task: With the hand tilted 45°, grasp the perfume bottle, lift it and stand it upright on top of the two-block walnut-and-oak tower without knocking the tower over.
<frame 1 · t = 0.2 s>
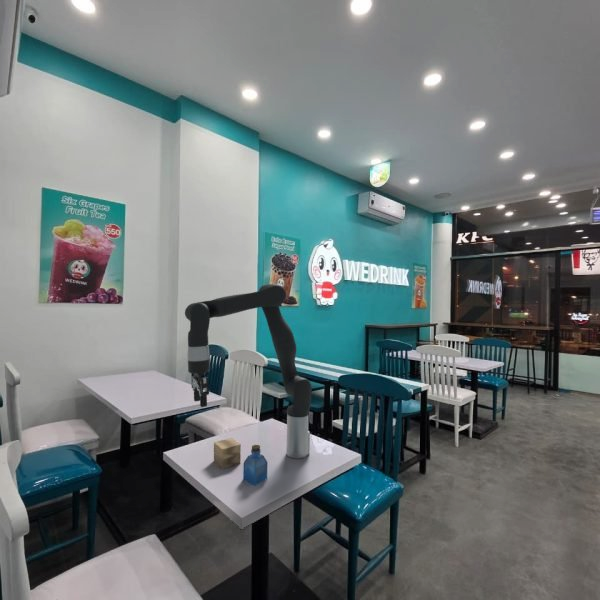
hand: (200, 403, 120), 29 cm above the table, tool pointing down, fingers open, 8 cm apart
tower top block: (227, 453, 137), point 4 cm above the table, touching tower bottom block
tower bottom block: (226, 463, 137), on the table, touching tower top block
perfume bottle: (255, 479, 124), on the table
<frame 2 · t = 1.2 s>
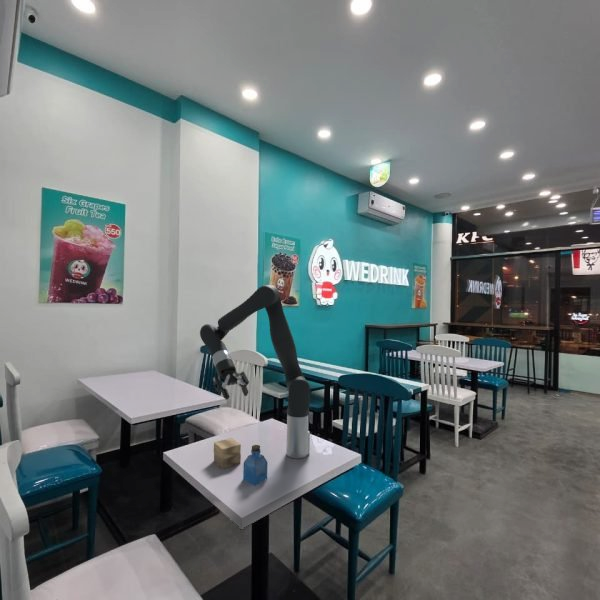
hand: (237, 396, 133), 28 cm above the table, tool tilted 45°, fingers open, 8 cm apart
nothing on the table moved.
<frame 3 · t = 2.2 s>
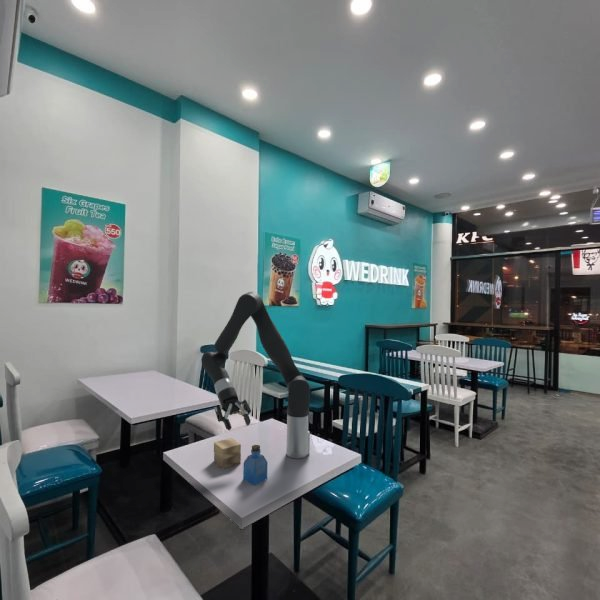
hand: (239, 426, 133), 16 cm above the table, tool tilted 45°, fingers open, 8 cm apart
nothing on the table moved.
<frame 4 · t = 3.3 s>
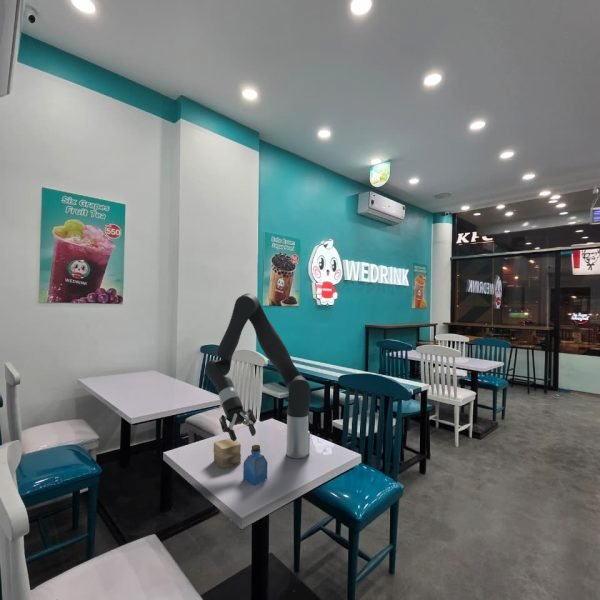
hand: (244, 437, 130), 13 cm above the table, tool tilted 45°, fingers open, 8 cm apart
nothing on the table moved.
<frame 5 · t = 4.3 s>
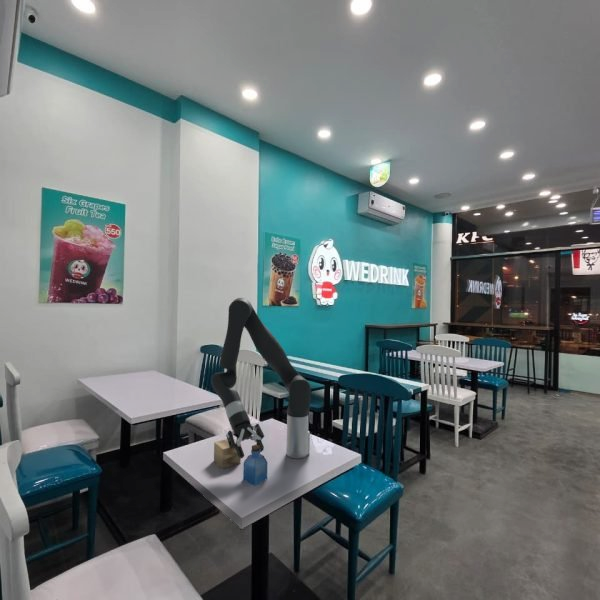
hand: (252, 454, 125), 9 cm above the table, tool tilted 45°, fingers open, 8 cm apart
nothing on the table moved.
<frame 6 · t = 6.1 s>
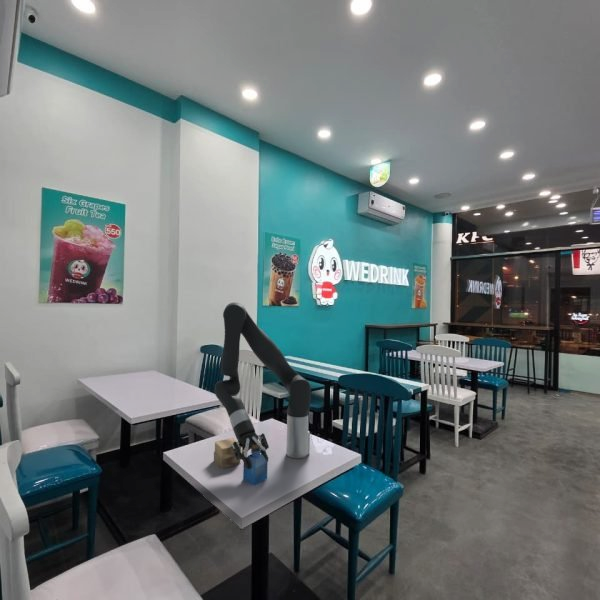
hand: (258, 465, 123), 6 cm above the table, tool tilted 45°, fingers closed on perfume bottle, 6 cm apart
perfume bottle: (255, 479, 124), on the table, touching gripper
everything else where it was.
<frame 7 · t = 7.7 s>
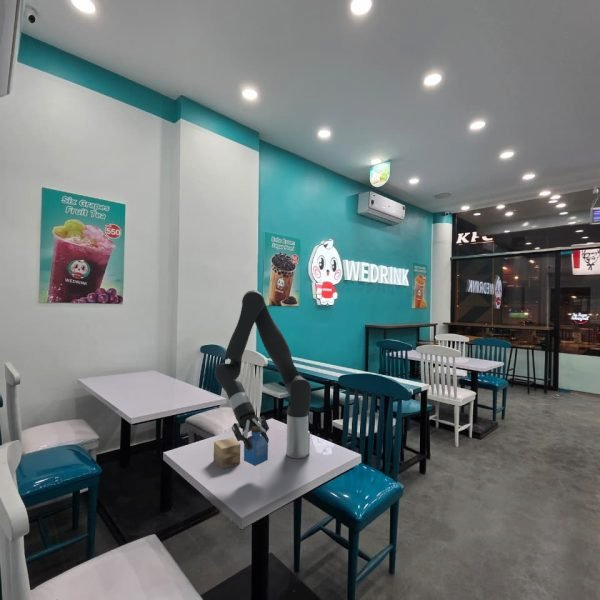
hand: (258, 446, 123), 13 cm above the table, tool tilted 45°, fingers closed on perfume bottle, 6 cm apart
perfume bottle: (255, 460, 124), point 7 cm above the table, touching gripper
everything else where it was.
when the fingers open (15 cm above the table, at t = 12.3 s): perfume bottle drops 2 cm, resting on tower top block.
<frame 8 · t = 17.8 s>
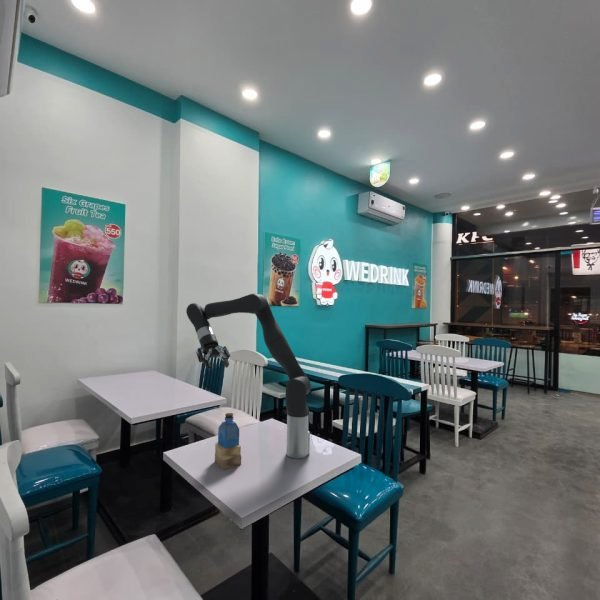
hand: (218, 367, 146), 37 cm above the table, tool tilted 45°, fingers open, 8 cm apart
tower top block: (227, 454, 136), point 4 cm above the table, touching perfume bottle, tower bottom block
perfume bottle: (228, 444, 136), point 7 cm above the table, touching tower top block
at the end: perfume bottle 0.6 cm off-centre on the tower top block, point 3.8 cm above the tower top block's base; tower top block point 3.6 cm above the table; perfume bottle tilted 0° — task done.
